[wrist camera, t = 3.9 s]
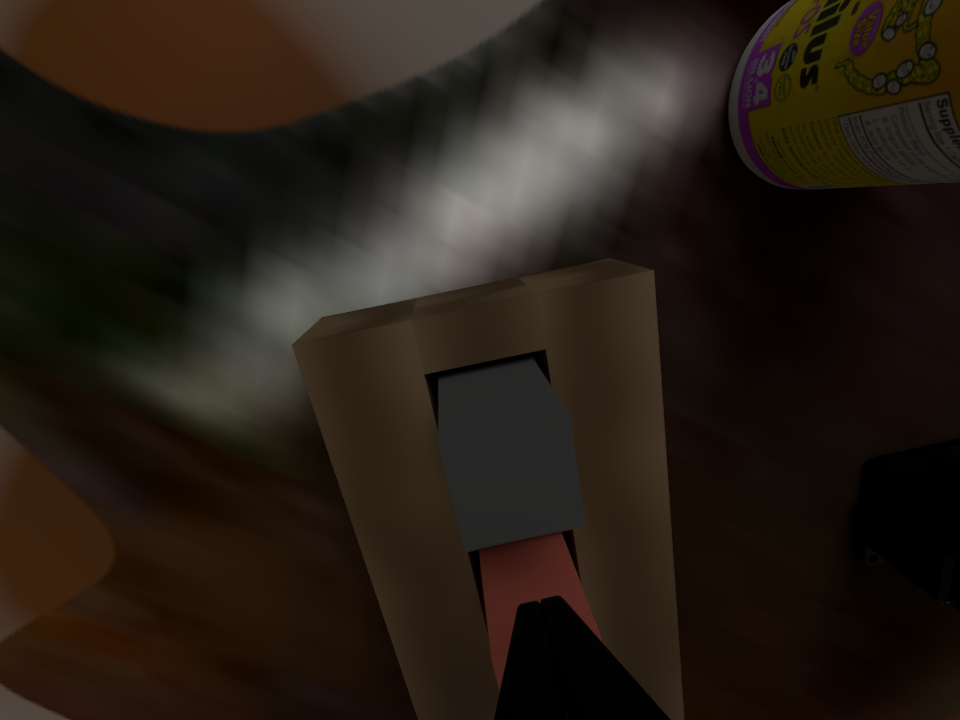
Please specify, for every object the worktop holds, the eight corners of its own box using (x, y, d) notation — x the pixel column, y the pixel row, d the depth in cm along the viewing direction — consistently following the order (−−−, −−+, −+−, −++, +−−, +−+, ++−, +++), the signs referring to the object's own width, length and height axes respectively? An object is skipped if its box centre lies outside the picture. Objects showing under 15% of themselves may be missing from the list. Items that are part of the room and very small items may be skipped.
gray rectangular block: (532, 356, 16) (569, 415, 12) (545, 439, 17) (585, 525, 13) (438, 375, 16) (438, 443, 12) (457, 458, 17) (464, 551, 13)
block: (610, 258, 19) (653, 270, 15) (649, 663, 26) (685, 739, 22) (321, 317, 19) (292, 345, 15) (442, 709, 26) (443, 794, 22)
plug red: (559, 527, 19) (600, 635, 14) (570, 592, 20) (611, 711, 15) (478, 545, 19) (491, 659, 14) (493, 609, 20) (510, 734, 15)
